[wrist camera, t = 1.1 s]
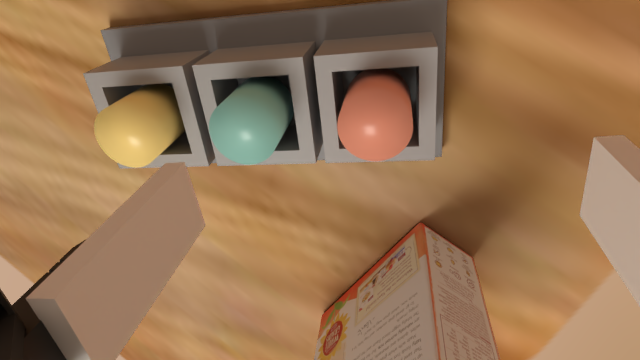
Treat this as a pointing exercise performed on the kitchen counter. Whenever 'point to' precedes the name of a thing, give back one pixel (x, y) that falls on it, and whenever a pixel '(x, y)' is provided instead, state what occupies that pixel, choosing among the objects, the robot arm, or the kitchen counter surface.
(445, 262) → the cracker box
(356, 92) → the salmon button
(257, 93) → the teal button
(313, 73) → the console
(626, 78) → the kitchen counter surface
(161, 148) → the mustard button
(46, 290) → the robot arm
